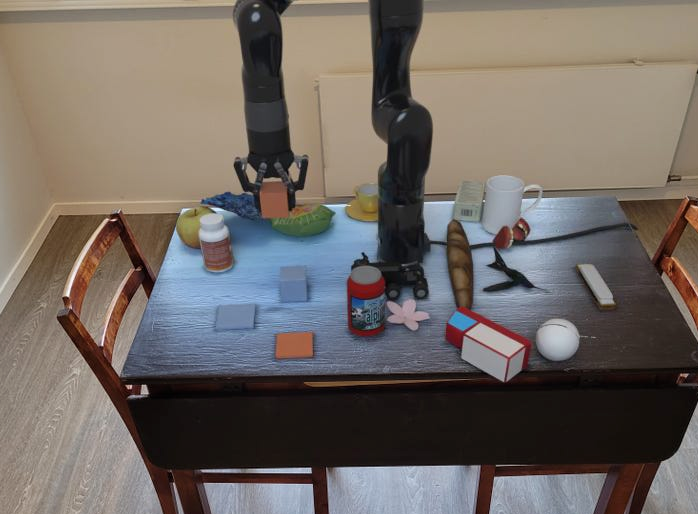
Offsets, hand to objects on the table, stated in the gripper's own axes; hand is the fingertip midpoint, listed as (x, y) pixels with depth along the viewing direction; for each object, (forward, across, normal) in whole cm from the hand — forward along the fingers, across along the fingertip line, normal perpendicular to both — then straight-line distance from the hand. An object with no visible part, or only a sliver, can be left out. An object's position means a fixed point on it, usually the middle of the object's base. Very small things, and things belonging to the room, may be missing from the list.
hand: (276, 209), depth 133 cm
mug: (+15, +50, +17) cm, 55 cm away
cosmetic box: (+13, +40, +20) cm, 47 cm away
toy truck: (+13, +38, -25) cm, 47 cm away
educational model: (+10, -3, +25) cm, 27 cm away
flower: (+16, +24, -16) cm, 33 cm away
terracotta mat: (+15, +3, -23) cm, 28 cm away
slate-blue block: (+15, +2, -6) cm, 17 cm away
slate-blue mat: (+15, -8, -13) cm, 22 cm away
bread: (+15, +36, 0) cm, 39 cm away
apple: (+15, -18, +15) cm, 27 cm away
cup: (+16, +19, +27) cm, 37 cm away
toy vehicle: (+16, +21, -6) cm, 27 cm away
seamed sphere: (+12, +48, -32) cm, 59 cm away
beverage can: (+16, +16, -18) cm, 29 cm away
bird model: (+14, +46, +2) cm, 48 cm away
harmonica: (+16, +61, -8) cm, 64 cm away
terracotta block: (0, 0, 0) cm, 0 cm away
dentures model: (+13, +45, +7) cm, 48 cm away
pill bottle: (+16, -14, +5) cm, 21 cm away
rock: (+4, -9, +20) cm, 22 cm away
